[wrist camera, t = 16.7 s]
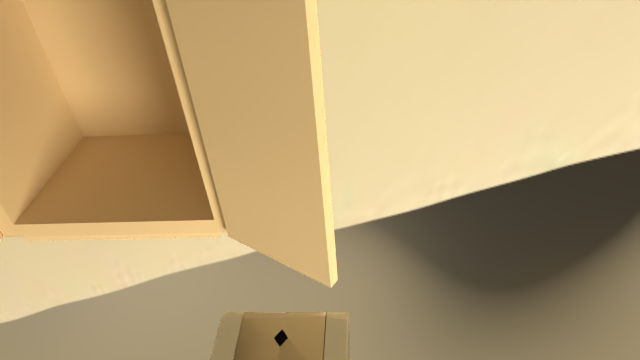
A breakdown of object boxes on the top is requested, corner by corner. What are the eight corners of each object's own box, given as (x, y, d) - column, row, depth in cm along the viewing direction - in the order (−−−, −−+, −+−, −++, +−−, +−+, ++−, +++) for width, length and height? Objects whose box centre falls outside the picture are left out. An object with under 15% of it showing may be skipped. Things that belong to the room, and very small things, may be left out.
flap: (144, -137, 17) (305, -141, 13) (235, 229, 27) (337, 279, 24) (129, -134, 16) (292, -138, 13) (228, 236, 27) (330, 287, 24)
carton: (204, -174, 24) (135, -163, 16) (260, 143, 36) (236, 239, 28) (-56, -150, 25) (-239, -129, 17) (81, 150, 37) (9, 243, 29)
